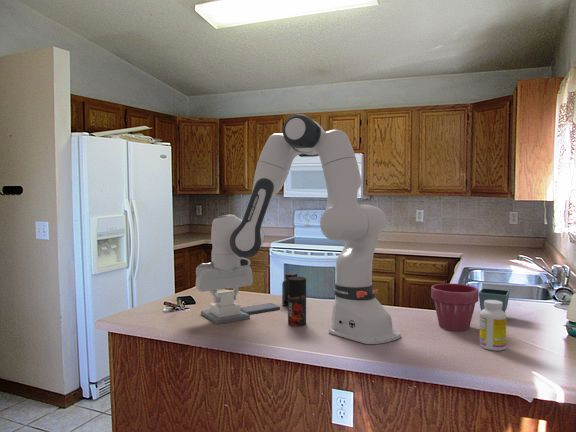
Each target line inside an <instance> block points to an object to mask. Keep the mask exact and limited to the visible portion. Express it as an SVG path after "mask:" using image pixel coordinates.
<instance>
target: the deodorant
mask: <svg viewBox="0 0 576 432" xmlns="http://www.w3.org/2000/svg"><path fill="white" fill-rule="evenodd" d="M287 324H288V326H290V327H304V326H306V325H307V278H306V277H305V276H297V277H289V278H288V306H287Z"/></svg>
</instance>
